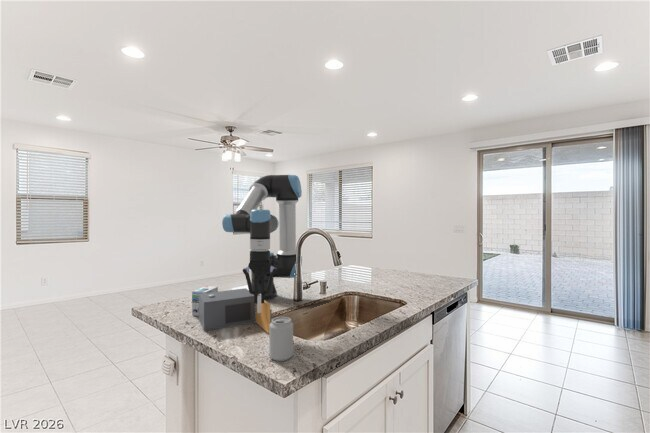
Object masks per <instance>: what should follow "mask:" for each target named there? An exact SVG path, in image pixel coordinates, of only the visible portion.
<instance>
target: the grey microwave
mask: <svg viewBox="0 0 650 433" xmlns="http://www.w3.org/2000/svg"><path fill="white" fill-rule="evenodd" d="M198 321H199V323H200V325H201V327H202V329H203V330H202V331H203V332H208V331H213V330H218V329H223V328H224V329H225V328H230V327H235V326H241V325H246V324H252V323H256V321H255V303H254V295H253V294H250V293H249V289H247V288H238V289H228V290H220V291H218V292H211V293H202V294H199V316H198Z"/></svg>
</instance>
